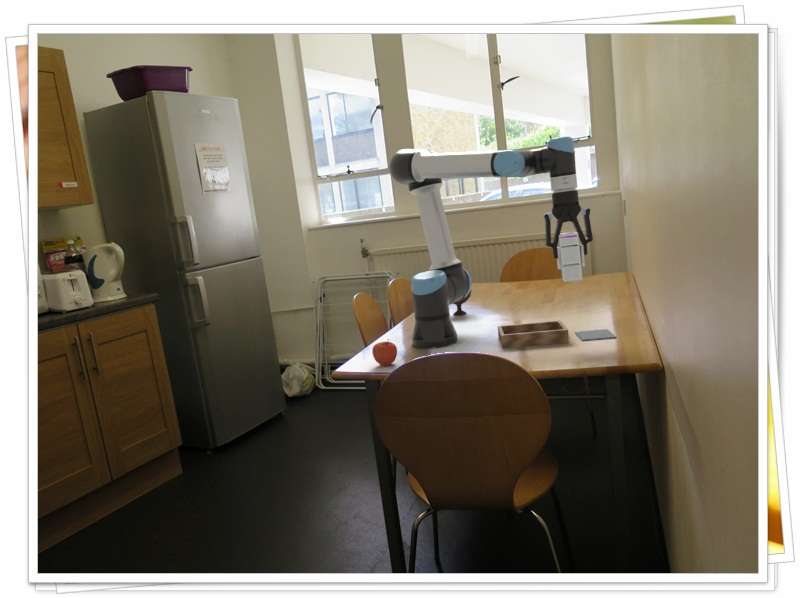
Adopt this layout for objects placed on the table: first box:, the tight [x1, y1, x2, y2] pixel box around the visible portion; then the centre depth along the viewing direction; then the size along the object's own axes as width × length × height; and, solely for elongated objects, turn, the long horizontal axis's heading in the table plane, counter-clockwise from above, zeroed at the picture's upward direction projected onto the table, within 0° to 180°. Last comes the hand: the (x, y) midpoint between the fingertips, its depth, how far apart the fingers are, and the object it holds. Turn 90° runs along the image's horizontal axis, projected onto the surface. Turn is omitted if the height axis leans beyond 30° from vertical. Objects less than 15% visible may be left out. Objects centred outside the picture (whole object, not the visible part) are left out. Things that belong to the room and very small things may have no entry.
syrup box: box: [558, 231, 583, 283], centre depth 172 cm, size 6×6×14 cm
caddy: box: [497, 320, 570, 349], centre depth 179 cm, size 20×13×4 cm, turn 85°
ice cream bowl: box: [452, 289, 472, 317], centre depth 229 cm, size 11×11×15 cm
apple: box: [371, 338, 398, 367], centre depth 169 cm, size 7×7×8 cm
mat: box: [574, 328, 617, 342], centre depth 176 cm, size 10×10×1 cm
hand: (571, 267), depth 173 cm, fingers closed on syrup box, 6 cm apart
